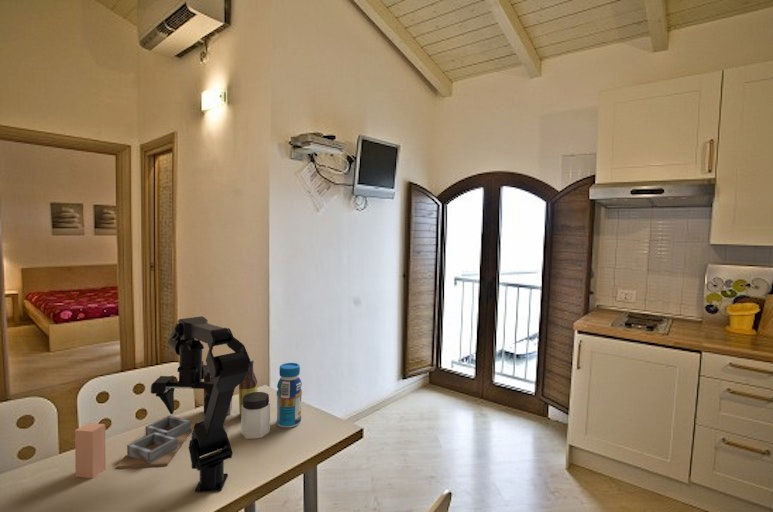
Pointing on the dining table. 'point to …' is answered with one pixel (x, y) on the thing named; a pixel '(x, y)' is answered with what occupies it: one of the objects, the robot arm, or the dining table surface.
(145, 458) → the cap board
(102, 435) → the pink rectangular block
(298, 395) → the beverage bottle
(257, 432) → the jar
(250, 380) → the sauce bottle
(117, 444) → the dining table surface
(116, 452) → the dining table surface
